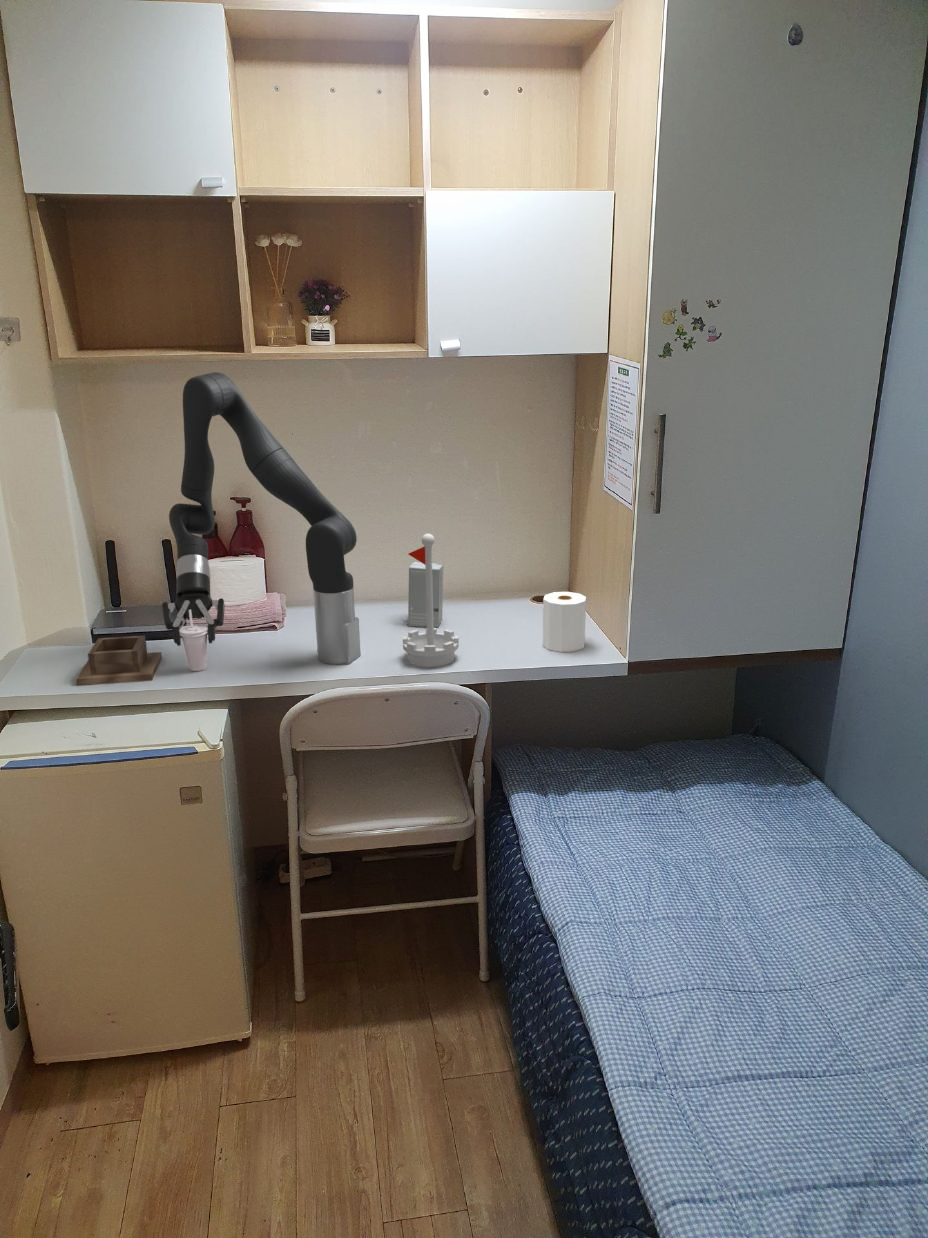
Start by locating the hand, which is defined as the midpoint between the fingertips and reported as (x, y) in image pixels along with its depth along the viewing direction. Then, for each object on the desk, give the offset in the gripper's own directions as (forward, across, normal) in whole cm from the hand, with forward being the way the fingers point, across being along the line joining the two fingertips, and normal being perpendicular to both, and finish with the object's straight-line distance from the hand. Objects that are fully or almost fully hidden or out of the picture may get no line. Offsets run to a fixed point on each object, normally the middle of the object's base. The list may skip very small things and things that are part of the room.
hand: (194, 643), depth 204 cm
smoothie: (+4, 0, +6) cm, 7 cm away
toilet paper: (+6, +86, +4) cm, 87 cm away
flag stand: (+8, +53, +3) cm, 54 cm away
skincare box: (-10, +56, +21) cm, 61 cm away
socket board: (+2, -17, +8) cm, 19 cm away
